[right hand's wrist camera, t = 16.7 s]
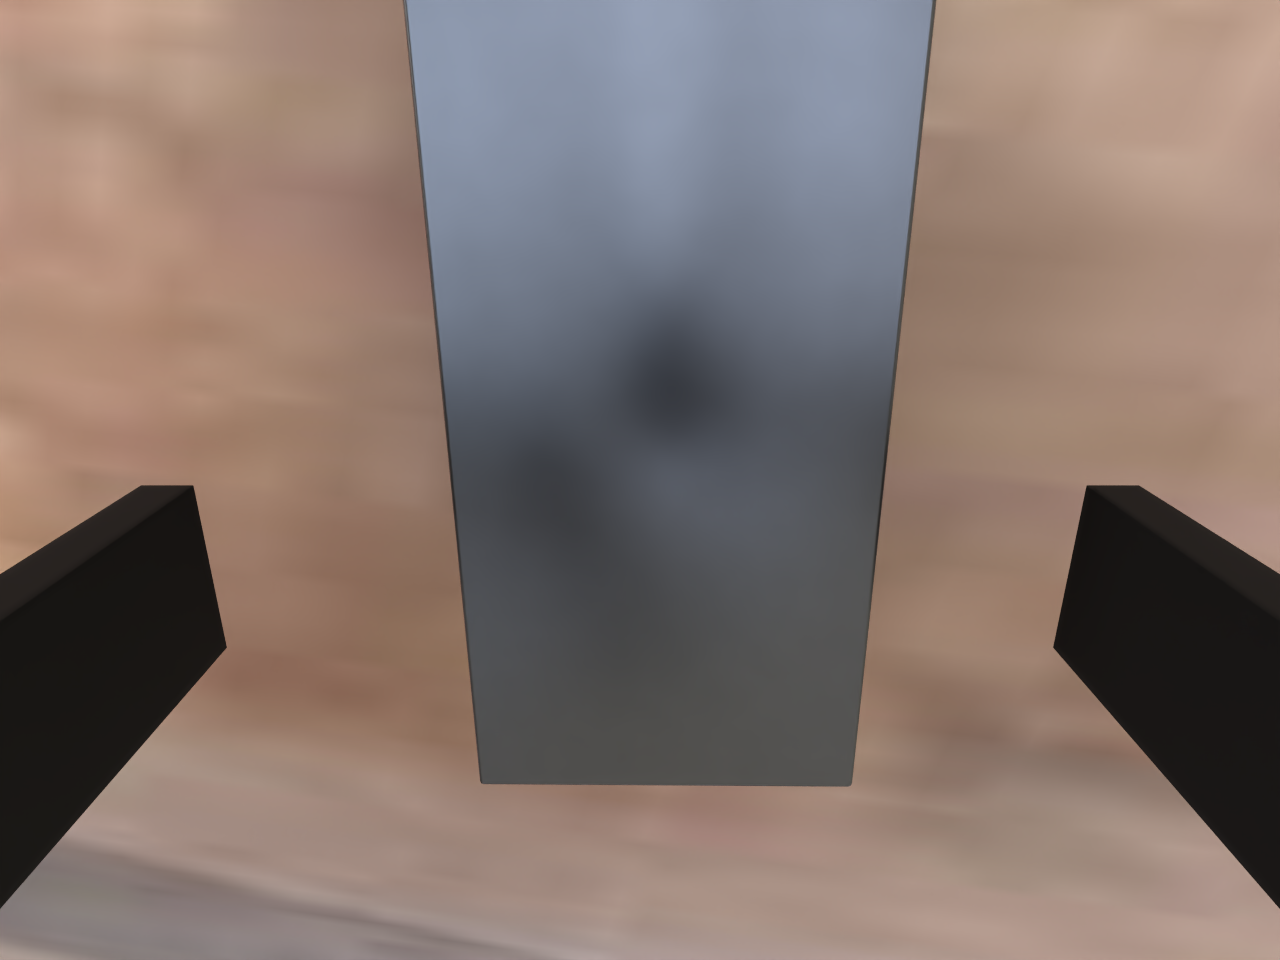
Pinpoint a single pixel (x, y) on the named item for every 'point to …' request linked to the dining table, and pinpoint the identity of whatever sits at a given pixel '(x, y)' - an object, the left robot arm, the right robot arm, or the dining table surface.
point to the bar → (668, 369)
